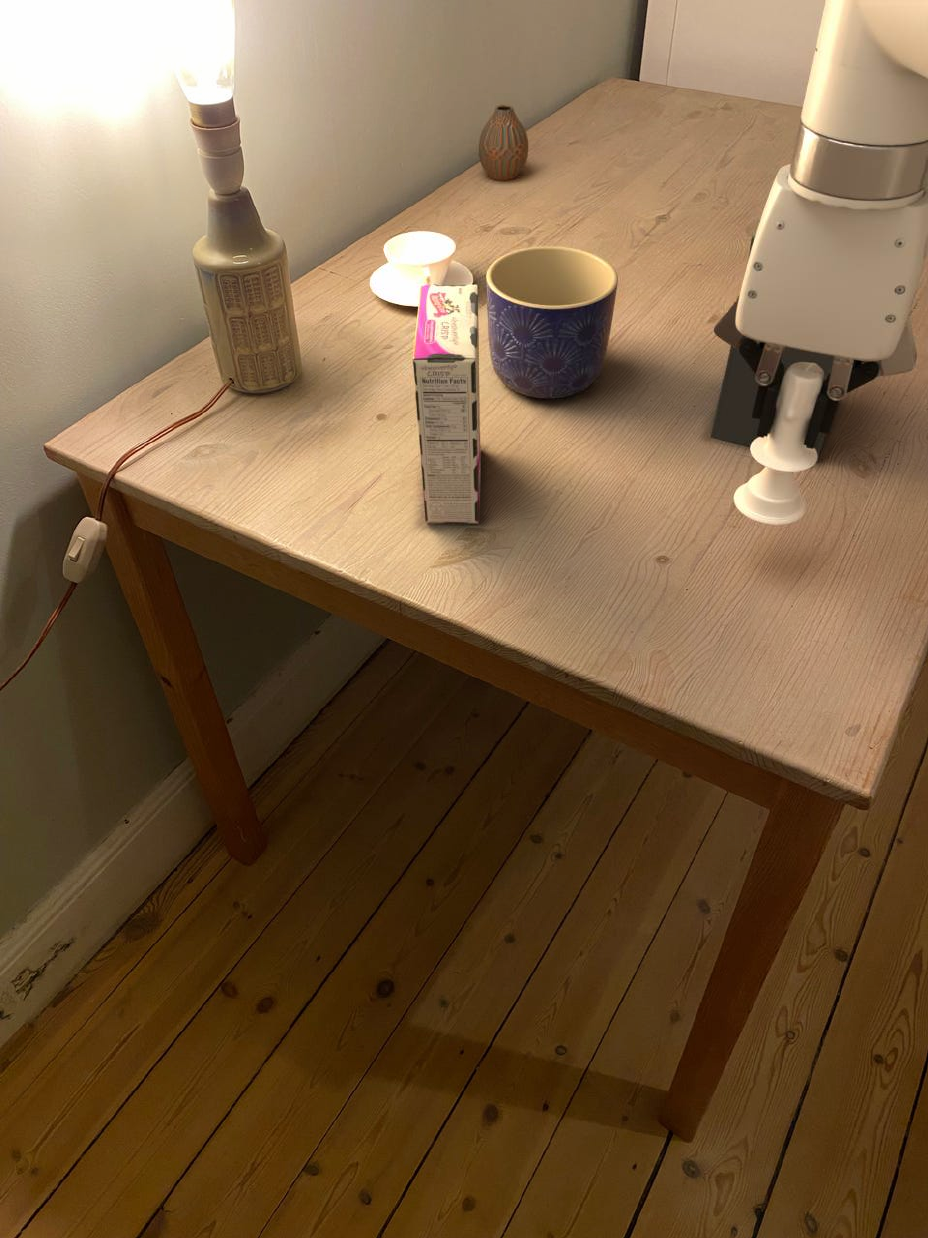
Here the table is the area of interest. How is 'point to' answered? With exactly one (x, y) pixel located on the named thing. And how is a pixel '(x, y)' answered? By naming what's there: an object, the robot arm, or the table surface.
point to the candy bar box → (448, 402)
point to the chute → (753, 396)
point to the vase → (503, 144)
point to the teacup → (417, 267)
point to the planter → (549, 319)
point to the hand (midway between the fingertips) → (789, 430)
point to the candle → (783, 451)
